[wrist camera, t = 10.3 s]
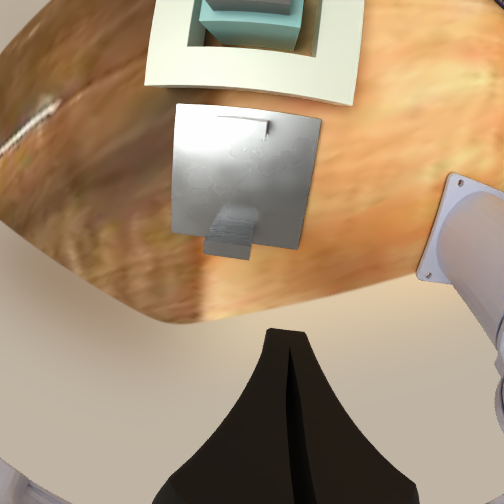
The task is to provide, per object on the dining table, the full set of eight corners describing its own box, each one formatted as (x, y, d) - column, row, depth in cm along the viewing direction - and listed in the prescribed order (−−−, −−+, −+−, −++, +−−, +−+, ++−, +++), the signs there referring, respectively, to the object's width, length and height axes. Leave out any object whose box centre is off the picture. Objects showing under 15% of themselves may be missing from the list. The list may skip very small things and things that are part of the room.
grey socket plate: (319, 119, 15) (331, 122, 12) (297, 245, 19) (300, 275, 16) (180, 104, 15) (156, 104, 12) (174, 228, 19) (154, 254, 16)
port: (354, -35, 10) (366, -55, 7) (339, 105, 15) (352, 105, 12) (188, -48, 10) (174, -69, 7) (165, 87, 15) (144, 85, 12)
